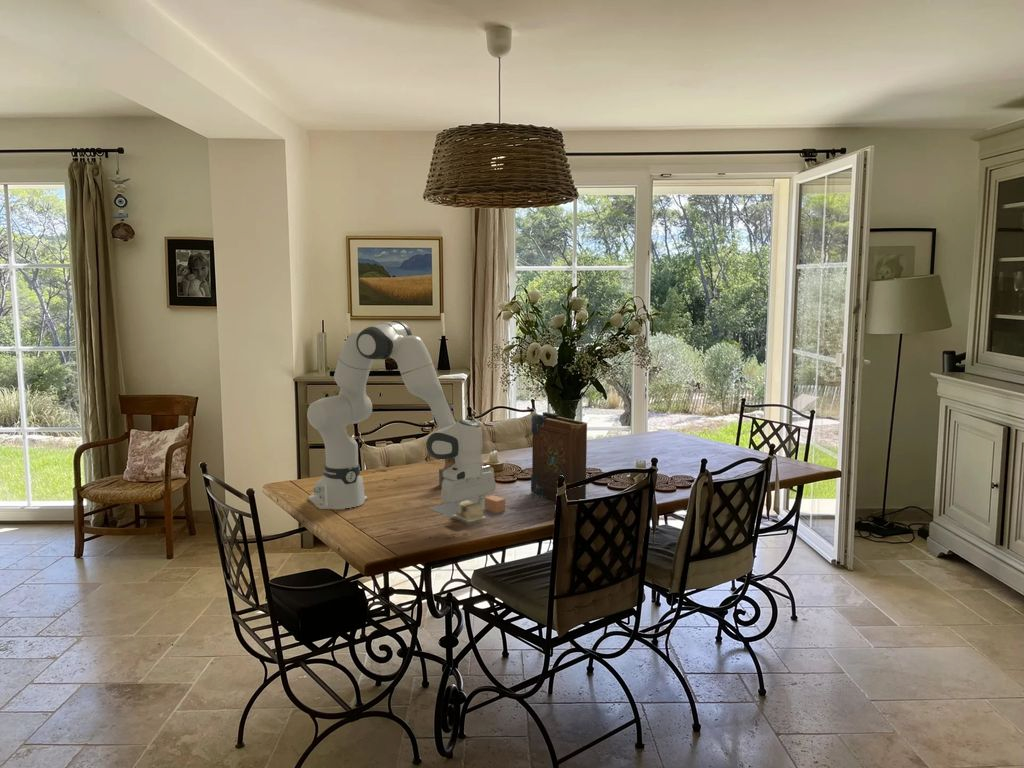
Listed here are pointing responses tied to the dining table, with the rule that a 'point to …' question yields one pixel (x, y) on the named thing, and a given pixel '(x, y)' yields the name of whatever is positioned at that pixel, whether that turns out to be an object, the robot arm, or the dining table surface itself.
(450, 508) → the build board
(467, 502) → the brick base
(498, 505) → the brick top
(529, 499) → the dining table surface
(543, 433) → the decorative book
